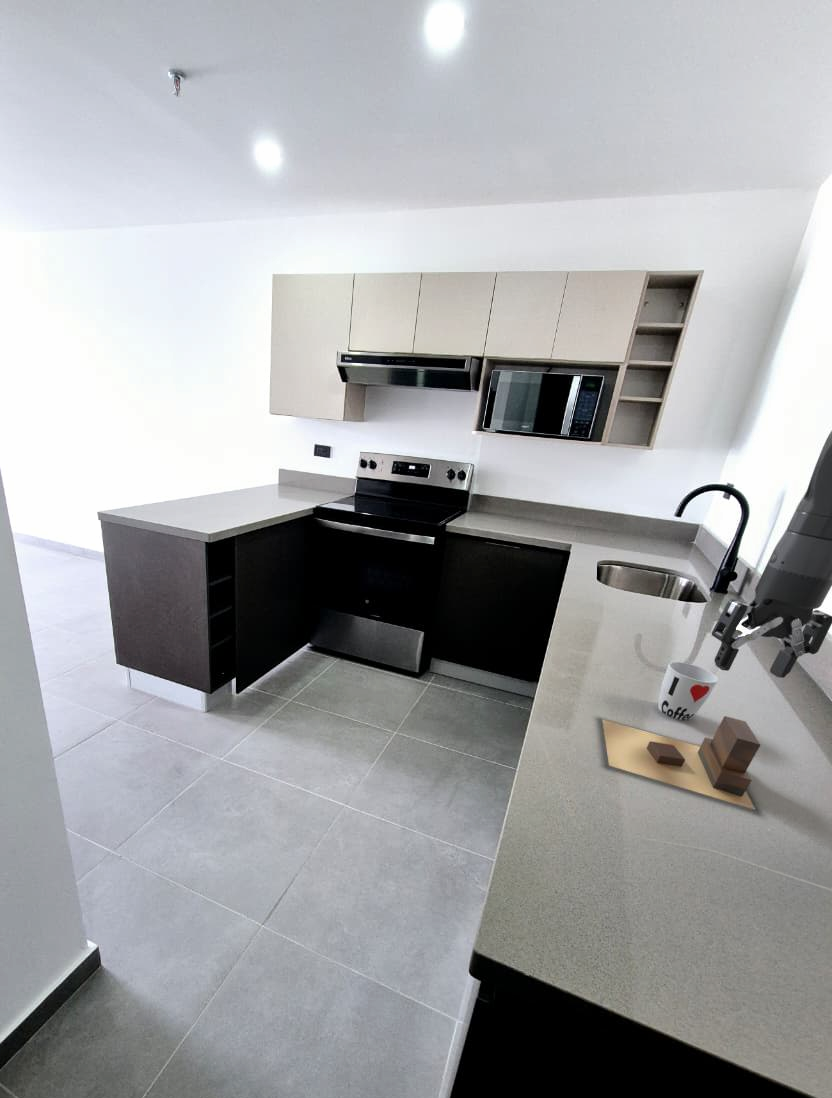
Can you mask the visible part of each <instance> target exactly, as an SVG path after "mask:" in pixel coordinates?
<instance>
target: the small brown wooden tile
mask: <svg viewBox="0 0 832 1098" xmlns="http://www.w3.org/2000/svg"><path fill="white" fill-rule="evenodd" d="M647 750H648V751H649V752H650V754H651V755H652V757H653V758H654V759H655V761H656V762H657V763H661V764H667V765H674V766H680V767H682V765H683V763H684V761H685V759H684V757H683V756H682V755H681V754H680V752H679V751H678V750H677V749H676V747H675V746H674V745H670V744H664V743H658V742H652V741H650V742H649V744H648V746H647Z"/></svg>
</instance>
